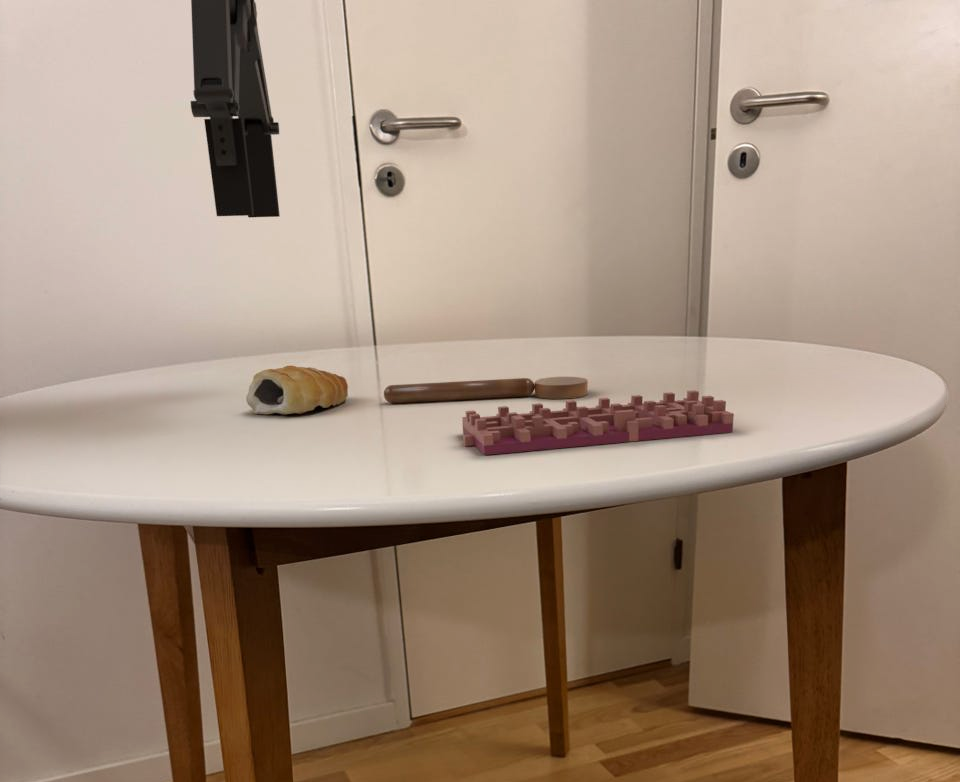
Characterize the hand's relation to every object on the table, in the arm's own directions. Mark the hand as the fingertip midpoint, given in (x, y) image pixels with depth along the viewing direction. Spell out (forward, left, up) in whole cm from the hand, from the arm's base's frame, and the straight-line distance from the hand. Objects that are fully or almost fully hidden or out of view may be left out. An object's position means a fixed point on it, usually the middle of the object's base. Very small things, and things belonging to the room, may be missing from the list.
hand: (251, 217), depth 78 cm
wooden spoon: (+18, +6, -16) cm, 25 cm away
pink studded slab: (+30, -9, -16) cm, 35 cm away
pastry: (+2, 0, -16) cm, 16 cm away
